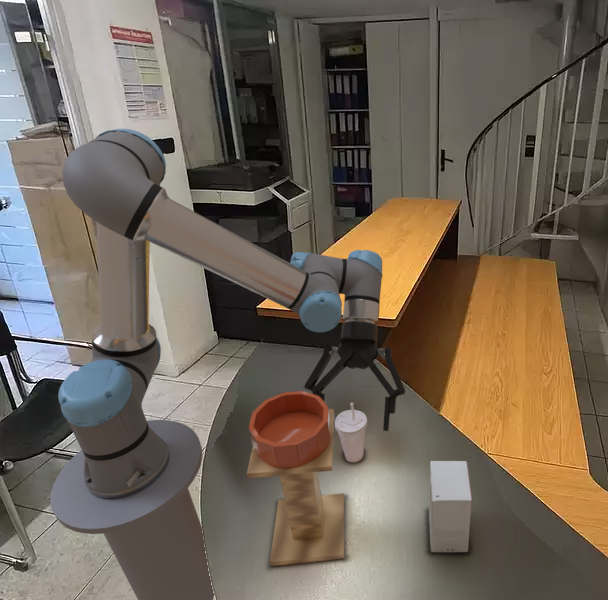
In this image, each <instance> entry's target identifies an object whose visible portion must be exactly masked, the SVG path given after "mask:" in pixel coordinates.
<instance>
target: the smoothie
mask: <svg viewBox="0 0 608 600" xmlns="http://www.w3.org/2000/svg"><path fill="white" fill-rule="evenodd" d="M367 427H368V418H367V415H366V414H365V413H364V412H363V411H361V410H359V409H355V407H354V402H350V409H347V410H344V411H341V412H340V413H339V414H337V415H336V417H335V418H334V429H335V431H336V432H337V434H338V438H339V440H340V445H341V447H342V451H343V454H344V458H345V460H346V461H347V462H349V463H358V462H360V461H361V460H362V459H363V458H364V451H365V439H366V428H367Z"/></svg>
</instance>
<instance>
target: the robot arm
mask: <svg viewBox="0 0 608 600" xmlns="http://www.w3.org/2000/svg"><path fill="white" fill-rule="evenodd" d="M166 170H167V163H166V158H165V156H164V153H163V151H162V150H161V148H160V147H159V145H157V144H156V142H155V141H154V140H153V139H152V138H150V137H149V136H148V135H146V134H144V133H142V132H140V131H137V130H134V129H130V128H115V129H112V130H111V129H110V130H106V131H103V132H100V133H99V134H98V135H97V136H96V137H95V138H93V139H91V140H89V141H88V142H85V143H83V144H81V145H79V146H78V147H76V148H75V149H74V150H72V151H71V152H70V153H69V154H68V156H67V158H66V159H65V161H64V164H63V168H62V173H61V174H62V183H63V186H64V190H65V191H66V194H67V196H68V197H69V200H71V201H72V203H73V204H74V205H75V206H76V207H77V208H78V209H79V210H80V211H81V212H82V213H83V214H85V215H86V216H88V217H89V218H90V219H91V220H93V221H95V222H96V223H95V224H96V246H97V247H96V249H97V275H98V302H99V303H98V305H99V325H98V326H97V327H96V328H95V329H94V330H93V331H92V333H91V350H92V351H91V352H92V353H91V354H92V356H91V362H88V363H86V364H84V365H81V366H80V367H78V370H73V371H72V372H70V373H69V374H68V375H67V377H66V378H65V379H64V380H63V381H62V383H61V385H60V387H59V390H58V393H57V394H58V395H57V397H58V402H59V405H60V410H61V413H62V415H63V417H64V418H65V420H66V421H67V424H68V425H69V426H70V429H71V431H72V433H73V435H74V437H75V438H76V442H77V443H78V445H79V448H80V450H82V451H83V453H84V481H85V484H86V486H87V488H88V490H89V491H90V493H91V494H92V495H94V496H96V497H98V498H101V499H118V498H123V497H127V496H130V495H132V494H135V493H137V492H139V491H141V490H143V489H144V488H146V487H148V486H149V485H150V484H152V483H153V482H154V481H155V480H156V479H158V478H159V476H160V475H161V474H162V473H163V472H164V470H165V469H166V467H167V465H168V462H169V450H168V448H167V445H166V443H165V442H164V440H163V439H162V438H160V437H159V436H158V435H157V434H156V433H155V432H154V431H153V430H152V429H151V428H150V427H149V426H148V423H147V421H148V420H147V418H146V415H145V412H144V410H143V405H142V404H143V401H144V398H145V396H146V394H147V392H148V391H147V390H148V388H149V386H150V383H151V380H152V379H153V376H154V373H155V372H156V370H157V368H158V365H159V363H160V360H161V352H162V348H161V343H160V340H159V338H158V337H157V331H156V328H155V327H154V326H153V325H151V324H150V323H149V319H150V318H149V317H150V316H149V315H150V256H151V255H150V252H151V251H150V247H151V245H150V244H151V243H152V244H154V245H155V246H157V247H159V248H162V249H164V250H166V251H168V252H170V253H172V254H175V255H177V256H178V257H180V258H183V259H184V260H187V261H189V262H191V263H193V264H195V265H196V266H197V265H198V266H199V267H200V268H203V269H205V270H207V271H209V272H211V273H214V274H216V275H218V276H219V277H221V278H224V279H226V280H228V281H230V282H232V283H234V284H236V285H238V286H241V287H243V288H245V289H247V290H248V291H250V292H253V293H255V294H257V295H259V296H261V297H263V298H265V299H267V300H269V301H271V302H273V303H276V304H277V305H279V306H282V307H284V308H286V309H288V310H290V311H291V312H293V313H295V314H297V315H298V316H299V319H300V321H301V323H302V325H303V326H304V327H305V328H306V329H307V330H309V331H311V332H314V333H326V332H329V331H331V330H333V329H334V328H336V327H337V325H338V324H339V323H340V321H341V319H342V321H343V323H342V325H341V332H340V343H339V345H338V346H333V345H330V344H325V345H324V346H323V347H324V348H323V351H322V355H321V357H320V359H319V360H318V362H317V363H316V365H315V367H314V369H313V370H312V372H311V373H310V375H309V377H308V378H307V380H306V382H305V383H304V388H305V390H308V391H311V393H312V394H314V395H318V396H319V397H320V398H321V399H322V400H323V401H324V402H325V397H326V394H325V393H323V391H324V390H325V389H326V388H327V387H328V385H331V383H332V381H334V380H335V379H336V377H337V376H338V375H339V374H340V373H341V372H342V371H345V369H346V368H348V369H350V370H355V369H360V370H366V369H368V368H369V370H370V371H371V372H372V373H373V375H374V376H375V377H376V378H377V380H378V381H379V383H380V384H381V386H382V387H383V388H384V390H385V391H386V392H387V394H388V395H389V396H385V397H384V412H383V428H382V431H383V432H389V431H390V417H391V415H395V413H396V409H397V408H396V406H397V398H398V397H399V396H403V395H405V394H406V389H405V386H404V384H403V382H402V379H401V376H400V374H399V373H398V372H399V371H398V370H397V368H396V365H395V363H394V361H393V350H392V349H391V348H390V347H389V346H386V347H384V348H378V337H379V336H378V335H379V327H378V323H379V320H380V305H381V301H380V300H381V289H382V281H383V258H382V257H381V256H380V254H379V253H377V252H375V251H372V250H367V249H363V250H361V249H356V250H355V249H354V250H352V251H351V252H350V253H348V256H347V258H341V257H335V256H329V255H324V254H318V253H314V252H304V251H295V252H294V253H292V255H291V258H290V262H289V261H287V260H285V259H283V258H281V257H279V256H278V255H276V254H273V252H270V251H268V250H267V249H265V248H263V247H261V246H259V245H257V244H255V243H253V242H251V241H249V240H248V239H247V238H244V237H242V236H240V235H238V234H236V233H235V232H234V231H231V230H229V229H227V228H226V227H223V226H222V225H220V224H218V223H217V222H214V221H212V220H210V219H209V218H206V217H205V216H203V215H201V214H200V213H197V212H195V211H193V210H191V209H190V208H188V207H186V206H185V205H183V204H181V203H179V202H177V201H175V200H173V199H171V198H170V196H169V195H168V193H167V191H166V188H164V187H162V186H161V184H162V182H163V181H164V179H165V175H166V173H167V171H166ZM341 295H344V300H343V301H342V298H341ZM343 302H344V303H343ZM342 306H343V307H342ZM342 308H343V310H342ZM336 354H338V356H339V357H340V359H338V361H336V363H335V365H333V366H332V367H331V369H330V370H328V372H327V373H326V374H325V375H324V376H323V377H322V378H321V376H322V374H323V373H324V371H325V370H326V368H327V366H328V364H329V363H330V361H331V359H332V358H333V357H334V356H335V355H336ZM379 355H380V356H381V358H382V359H383V360H385V363H386V366H387V367H388V370H389V372H390V375H391V377H392V380H393V382H394V384H395V386H396V389H394V388H393V387H392V385H391V383H389V381H388V380H387V378H386V377H385V375H384V374H383V373H382V372H381V370H380V369H379V367H378V366H377V364H376V363H375V362H374V361H375V360H376V359H377V358H378V357H379ZM320 378H321V379H320ZM319 379H320V380H319Z"/></svg>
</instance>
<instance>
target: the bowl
mask: <svg viewBox="0 0 608 600" xmlns="http://www.w3.org/2000/svg"><path fill="white" fill-rule="evenodd" d="M329 409H330V408H329V406H328V404H327V403H326V402H325V400H324V401H323V400H322V399H321V398H320V397H319V396H318V395H314V394H313V393H312V392H308V391H304V390H298V391H297V390H295V391H285V392H281V393H279V394H277V395H273V396H272V397H269V398H267V399H265V400H263V402H262V403H261V404H260V405H258V406H257V407H256V408H255V409H254V410H253V411H252V413H251V417H250V421H249V425H248V431H249V435H250V439H251V444H252V448H253V447H254V448H255V450H256V453H257V456H258V457H259V458H260V459H261V460H262V461H263V462H264V463H266V464H268V465H270V466H273V467H277V468H293V467H298V466H302V465H304V464H307V463H309V462H311V461H313V460H314V459H316V458H317V457H318V456H320V455H321V454H322V453H323V452H324V450H325V449H326V448H327V446H328V444H329V441H330V437H331V431H330V426H331V424H330V416H329Z"/></svg>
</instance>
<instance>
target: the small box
mask: <svg viewBox="0 0 608 600" xmlns="http://www.w3.org/2000/svg"><path fill="white" fill-rule="evenodd" d="M469 473H470V472H469V467H468V461H467V460H430V462H429V497H428V498H429V501H428V522H429V523H428V524H429V541H430V543H429V544H430V553H468V552H469V545H470V531H471V530H470V529H471V519H472V518H471V517H472V506H473V505H472V504H473V497H472V495H473V494H472V488H471V481H470V474H469Z"/></svg>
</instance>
